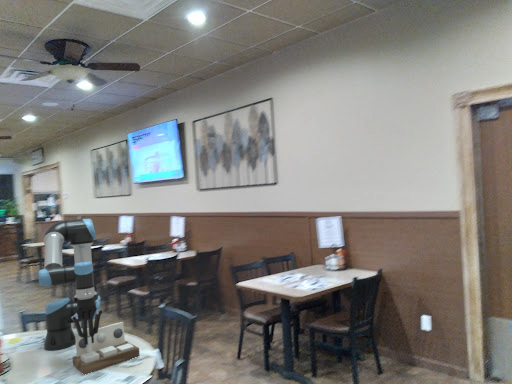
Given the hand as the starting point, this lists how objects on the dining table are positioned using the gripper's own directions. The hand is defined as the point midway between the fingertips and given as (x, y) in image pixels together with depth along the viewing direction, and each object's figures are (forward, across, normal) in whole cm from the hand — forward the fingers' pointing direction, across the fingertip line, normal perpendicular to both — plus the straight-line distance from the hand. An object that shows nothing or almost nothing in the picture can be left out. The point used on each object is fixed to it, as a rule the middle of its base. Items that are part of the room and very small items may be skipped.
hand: (89, 351), depth 180 cm
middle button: (+4, +8, 0) cm, 9 cm away
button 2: (+6, +16, 0) cm, 17 cm away
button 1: (+4, 0, 0) cm, 4 cm away
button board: (+8, +8, +3) cm, 11 cm away
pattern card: (+4, +8, +8) cm, 12 cm away
